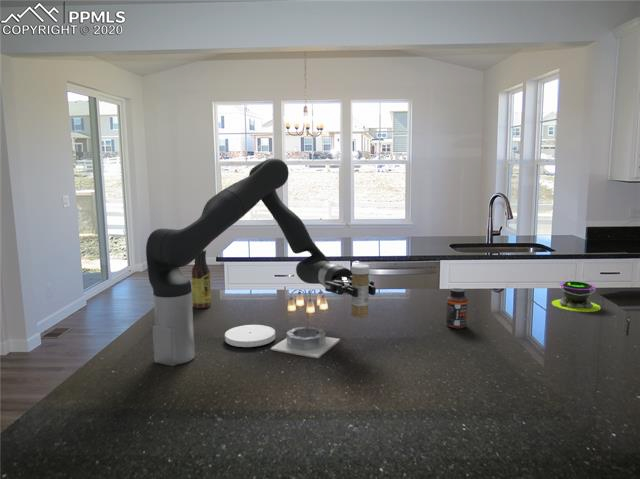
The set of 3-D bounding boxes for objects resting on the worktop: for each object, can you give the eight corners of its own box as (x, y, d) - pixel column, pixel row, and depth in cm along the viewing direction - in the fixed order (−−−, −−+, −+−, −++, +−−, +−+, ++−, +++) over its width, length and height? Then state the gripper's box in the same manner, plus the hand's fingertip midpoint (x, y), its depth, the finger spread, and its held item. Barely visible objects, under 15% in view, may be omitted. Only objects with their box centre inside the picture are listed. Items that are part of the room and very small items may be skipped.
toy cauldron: (555, 310, 166) (557, 278, 164) (548, 298, 180) (550, 268, 178) (605, 313, 162) (608, 280, 160) (594, 301, 176) (597, 271, 174)
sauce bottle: (208, 309, 170) (206, 251, 167) (190, 309, 170) (187, 252, 167) (213, 303, 176) (211, 248, 173) (195, 303, 176) (193, 248, 173)
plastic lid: (214, 345, 137) (214, 336, 136) (244, 330, 149) (244, 322, 149) (256, 354, 130) (256, 344, 130) (284, 337, 143) (284, 328, 142)
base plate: (318, 358, 126) (318, 356, 126) (270, 349, 132) (270, 348, 132) (339, 340, 139) (340, 338, 139) (295, 333, 145) (295, 331, 145)
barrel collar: (314, 352, 129) (314, 341, 128) (281, 346, 133) (281, 335, 133) (330, 340, 138) (330, 329, 137) (298, 335, 142) (298, 325, 141)
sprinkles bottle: (360, 312, 132) (360, 262, 130) (372, 316, 129) (373, 265, 127) (347, 315, 129) (347, 265, 127) (359, 320, 126) (360, 268, 124)
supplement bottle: (462, 330, 146) (463, 293, 144) (442, 326, 150) (444, 290, 148) (469, 325, 151) (470, 289, 149) (450, 321, 154) (452, 286, 153)
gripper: (312, 267, 137) (340, 280, 122) (358, 263, 143) (390, 275, 128) (312, 293, 139) (340, 309, 123) (357, 288, 144) (389, 303, 129)
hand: (365, 292), depth 126 cm, fingers closed on sprinkles bottle, 4 cm apart
